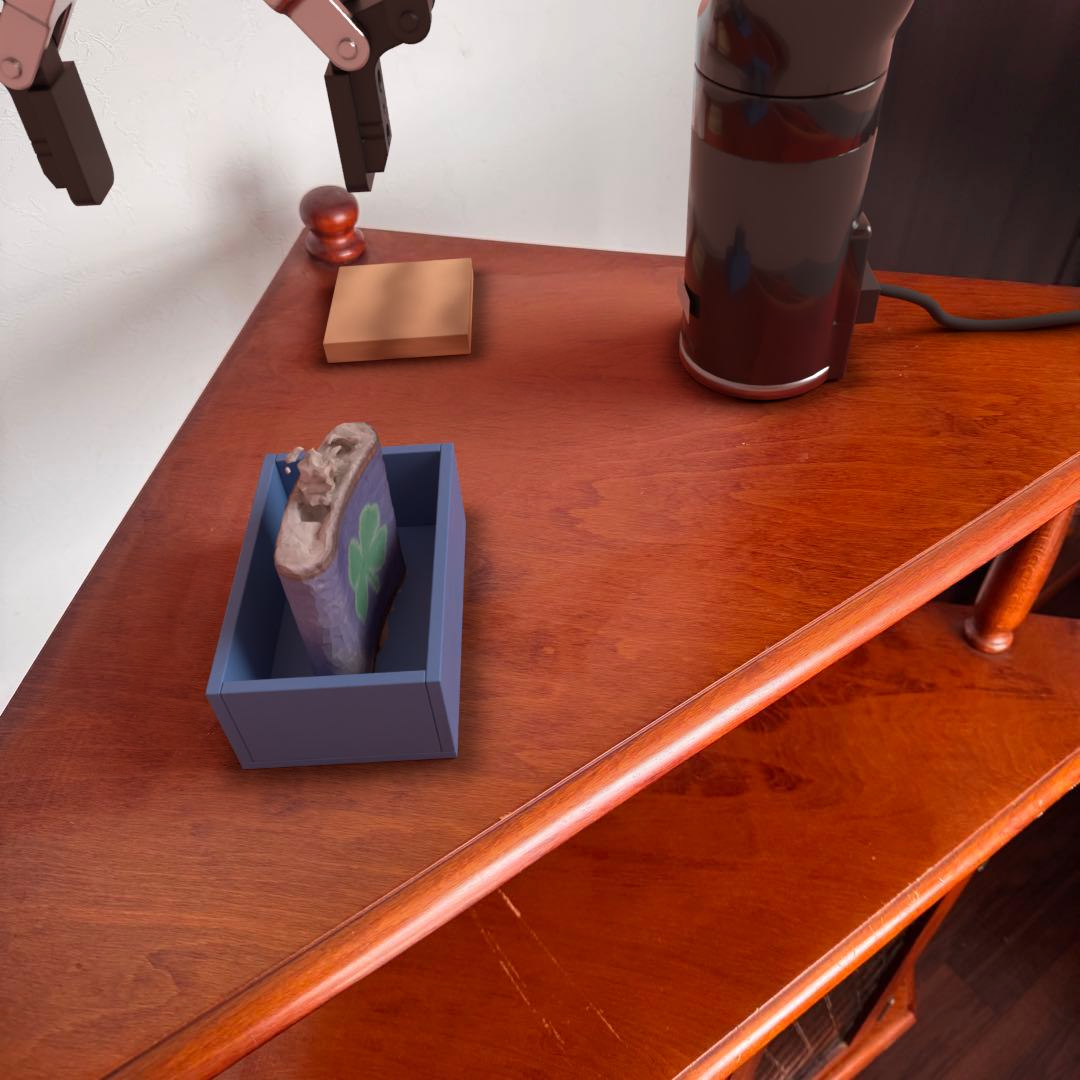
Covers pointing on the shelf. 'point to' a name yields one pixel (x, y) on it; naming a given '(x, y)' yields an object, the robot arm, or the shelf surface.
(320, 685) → the bin
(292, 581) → the flask
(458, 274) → the board
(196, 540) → the shelf surface
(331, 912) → the shelf surface
